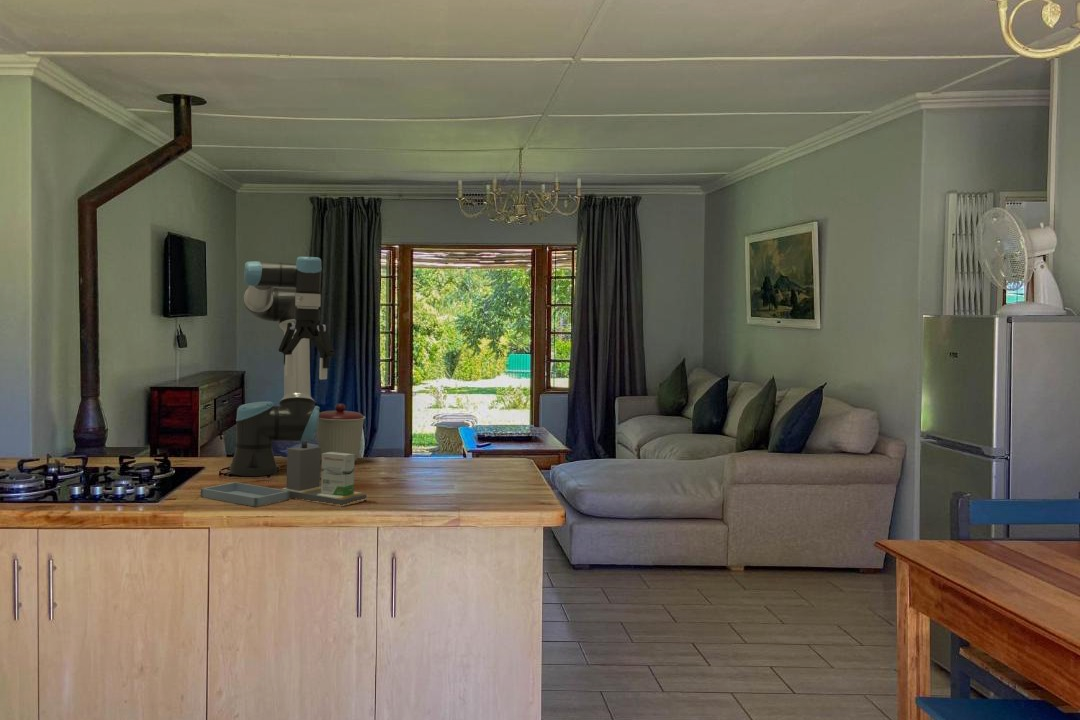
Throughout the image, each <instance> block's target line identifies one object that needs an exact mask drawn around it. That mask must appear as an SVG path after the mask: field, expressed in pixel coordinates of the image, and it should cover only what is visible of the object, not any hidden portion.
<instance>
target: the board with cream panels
mask: <svg viewBox="0 0 1080 720" xmlns="http://www.w3.org/2000/svg"><path fill="white" fill-rule="evenodd" d="M279 489H280V490H286V491H290V499H293V498H297V499H296V500H298V499H304V500H310V501H319V502H326V503H333V504H340V505H343V504H347V503H350V502H353V501H357V500H361V499H365V498H366V499H367V495H368V494H367V493H363V492H359V491H354V493H352V494H350V495H347V496H344V495H334V494H325V493H321V485H320V487H315V488H311V489H306V490H301V491H296V490H290V489H286V487H283V488H279ZM304 500H303V501H304ZM310 501H309V502H310Z"/></svg>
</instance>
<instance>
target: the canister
mask: <svg viewBox="0 0 1080 720" xmlns="http://www.w3.org/2000/svg"><path fill="white" fill-rule="evenodd" d="M334 408H335V410H324V411H321V412H320V411H319V420H318V426H317V432H316V437H317V447H321V458H320V461H322V454H323V453H328V452H337V453H347V454H354V463H355V462H356V461H357V459H358V458H359V454H360V447H361V441H362V435H363V428H364V421H365V419H366V416H365V415H363V414H362V413H360V412H357V411H352V410H351V411H350V410H345V409H346V405H345V404H344V403H337V404H336V405H334Z"/></svg>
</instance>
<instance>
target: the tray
mask: <svg viewBox="0 0 1080 720" xmlns="http://www.w3.org/2000/svg"><path fill="white" fill-rule="evenodd" d="M280 489H281V488H274V487H273V488H272V487H267V486H262V485H255V484H249V483H245V482H237V481H233V482H229V483H223V484H217V485H213V486H207V487H201V488H200V498H204V499H210V500H213V501H214V500H215V501H220V502H227V503H232V504H237V505H242V504H243V505H242V506H247V505H248V506H249V507H253V506H255V507H254V508H258V507H257V506H259V507H261V506H260V505H263V506H266V505H265V504H268V505H270V504H269V503H272V504H275V502H276V503H280V502H279V501H281V502H285V501H288V500H287V499H291V498H290V491H286V490H280ZM284 500H285V501H284Z"/></svg>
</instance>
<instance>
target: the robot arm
mask: <svg viewBox="0 0 1080 720" xmlns="http://www.w3.org/2000/svg"><path fill="white" fill-rule="evenodd" d="M244 263H245V264H244V271H243V272H244V273H243V274H244V277H243V278H244V284H245V286H248V287H247V289H246V290H245V291H244V294H243V304H244V306H245V309H246V310H247V311H248V312H249V313H250V314H251V315H253V316H254V317H256V318H258V319H261V320H263V321H268V322H278V324H279V326H278V327H279V328H280V329H281V330H282V331H283V338H282V341H281V342H280V345H279V348H278V352H279V353H282V354H283V396H282V398H281V399H280V400H279V403H278V405H275V403H274V401H268V400H267V401H263V400H262V401H256V402H249V403H245V404H241V405H239V406H238V407H237V410H236V419H235V421H236V431H235V432H236V434H235V451H234V454H233V457H232V460H231V463H230V465H229V473H230V474H231V475H236V476H240V477H241V476H242V477H260V476H270V475H271V476H272V475H275V474H277V472H278V465H277V463H276V459H275V455H274V451H273V442H302V441H307V442H308V441H312V440H314V439H315V437H317V426H318V420H319V413H320V406H318V405H316V404H315V399H314V398H313V397H311V376H310V375H311V373H310V372H311V371H310V370H311V368H310V367H311V363H310V360H311V359H310V357H311V356H310V354H311V351H310V340H311V341H312V342H313V344H314V345H315V347H316V349H317V351H318V353H319V354H320V357H319V370H318V373H319V375H318V377H319V378H318V379H319V380H327V379H328V369H329V367H330V358H332V357H334V356H335V355H336V353H335V349H334V347H333V344H332V340H331V338H330V334H329V332H328V325H327V324H319V322H320V320H321V310H320V308H321V306H322V305H321V304H322V303H321V299H322V298H321V297H322V295H321V293H322V291H321V289H322V288H321V286H322V270H323V268H322V259H321V258H320V257H316V256H315V257H314V256H297V258H296V261H295V263H294V262H293V263H291V262H275V261H274V262H271V261H270V262H269V261H258V260H255V261H246V262H244Z"/></svg>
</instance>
